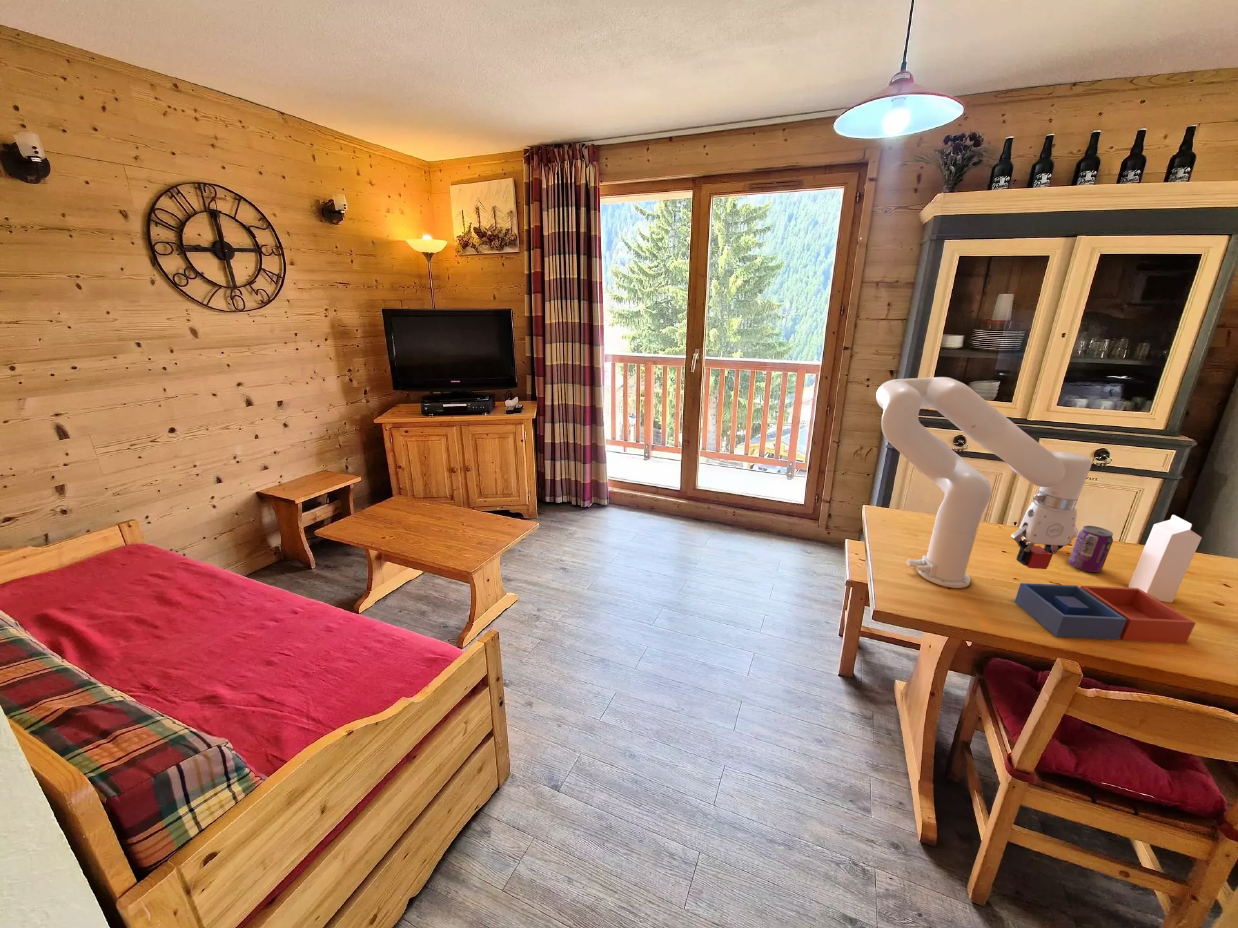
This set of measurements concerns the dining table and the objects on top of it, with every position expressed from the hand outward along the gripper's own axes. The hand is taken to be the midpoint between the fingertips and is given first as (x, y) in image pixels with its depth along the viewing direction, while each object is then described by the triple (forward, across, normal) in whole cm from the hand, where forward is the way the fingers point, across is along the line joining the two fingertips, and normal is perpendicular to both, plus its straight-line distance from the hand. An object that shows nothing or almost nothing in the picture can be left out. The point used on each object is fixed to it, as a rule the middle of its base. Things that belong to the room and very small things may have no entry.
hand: (1031, 562), depth 128 cm
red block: (0, 0, 0) cm, 0 cm away
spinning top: (+7, +24, +22) cm, 33 cm away
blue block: (+6, 0, -14) cm, 16 cm away
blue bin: (+7, 0, -14) cm, 16 cm away
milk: (+6, +31, -1) cm, 32 cm away
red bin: (+7, +14, -14) cm, 21 cm away
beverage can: (+7, +25, +12) cm, 29 cm away
